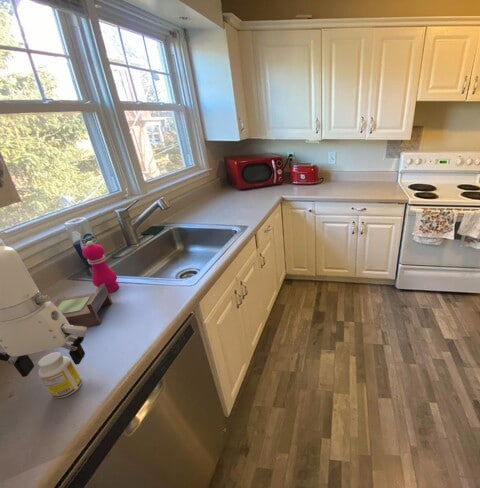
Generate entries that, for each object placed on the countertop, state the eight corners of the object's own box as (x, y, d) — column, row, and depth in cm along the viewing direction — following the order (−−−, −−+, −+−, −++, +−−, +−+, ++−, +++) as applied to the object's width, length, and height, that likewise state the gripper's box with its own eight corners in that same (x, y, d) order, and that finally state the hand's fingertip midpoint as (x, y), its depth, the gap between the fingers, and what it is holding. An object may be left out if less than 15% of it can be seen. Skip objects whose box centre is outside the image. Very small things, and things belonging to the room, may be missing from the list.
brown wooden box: (45, 335, 84) (32, 314, 80) (64, 311, 94) (54, 291, 91) (100, 324, 88) (90, 304, 84) (112, 302, 98) (104, 283, 95)
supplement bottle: (71, 376, 71) (54, 347, 66) (88, 381, 69) (71, 351, 65) (46, 396, 66) (26, 365, 61) (64, 402, 64) (44, 371, 60)
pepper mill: (109, 295, 102) (88, 246, 93) (92, 293, 103) (70, 245, 94) (125, 284, 108) (107, 237, 99) (109, 282, 109) (89, 236, 101)
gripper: (77, 287, 62) (105, 344, 70) (-24, 304, 57) (18, 363, 65) (60, 307, 56) (93, 367, 63) (-55, 328, 51) (-4, 391, 58)
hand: (55, 365), depth 64 cm, fingers open, 9 cm apart
